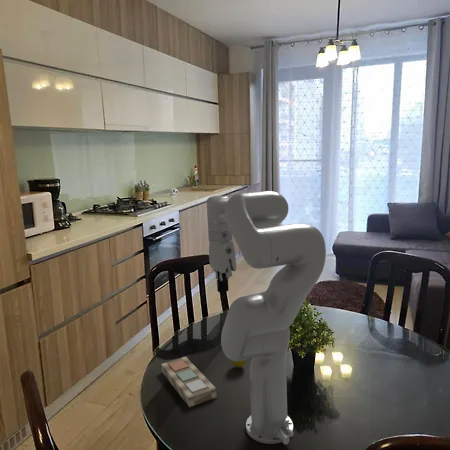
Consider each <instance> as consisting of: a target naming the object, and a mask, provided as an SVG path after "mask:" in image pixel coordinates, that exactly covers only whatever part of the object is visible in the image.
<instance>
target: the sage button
mask: <svg viewBox="0 0 450 450" xmlns="http://www.w3.org/2000/svg"><path fill="white" fill-rule="evenodd" d="M177 376H178V378H179V379H180V380H181V381H182V382H185V381H188V380H191V379H194V378H197V375H196V374H195V373H194V372H193V371H192V370H191V369H190V370H187V371H184V372H180V373H177Z"/></svg>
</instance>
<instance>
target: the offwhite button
mask: <svg viewBox="0 0 450 450" xmlns="http://www.w3.org/2000/svg"><path fill="white" fill-rule="evenodd" d="M186 387H187V388H188V390H189V391H190V392H191V393H194V392H197V391H200V390H203V389H206V388H207V386H206V385H205V384H204V383H203V382H202V380H201V379H199V380H196V381H193V382H190V383H187V384H186Z"/></svg>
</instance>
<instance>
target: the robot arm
mask: <svg viewBox="0 0 450 450" xmlns="http://www.w3.org/2000/svg"><path fill="white" fill-rule="evenodd" d="M288 213H289V203H288V201H287V200H286V198H285V197H284V196H283V194H281V193H279V192H276V191H272V190H265V191H264V190H263V191H262V190H261V191H251V192H243V193H242V192H241V193H236V194H233V195H232V196H231V197H229V196H227V195H214V196H212V195H211V196H209V197H208V198H207V199H206V217H207V235H208V236H207V237H208V242H209V243H208V244H209V245H208V261H209V267H210V268H212V271H214V273H215V279H216V286H217V288H216V290H217V292H218V293H220V294H223V293H226V292H227V293H228V292H229V291H230V290H229V279H230V278H231V277H233V273H232V272H236V270H237V259H236V250H235V245H234V244H235V243H236V244H237V247H238V249H239V251H240V253H241V256H242V258H243V259H244V261H245V262H246V264H247V265H248V266H250V267H251V268H253V269H268V268H274V267H280V266H282V268H280V270H278V271H277V272H276V273H275V274H274V276H273V277H272V279H271V280H270V282H269V285H268V288H267V289H266V290H264V291H263V292H262V291H261V292H259V293H254V294H248V295H243V296H240V297H238V298H236V299H235V300H234V301H232V303H231V304H230V306H229V307H228V312H227V315H226V318H225V321H224V324H223V327H222V330H221V337H220V345H221V348H222V352H223V354H224V356H225V357H226V358H227V359H228V360H230V361H231V360H232V361H243V360H250V359H251V360H250V364H249V389H250V390H249V391H250V393H249V395H250V415H249V417H247V419H246V422H245V431H246V433H247V434H248V436H249V437H250V438H251V439H253V440H254V441H256V442H258V443H261V444H267V445H276V444H279V443H283V445H288V444H289V443H290V440H291V438H292V437H293V436H294V435H295V432H294V423H293V420H292V418H290V416H289V415H288V395H287V394H288V393H287V391H288V390H287V389H288V388H287V386H288V385H287V384H288V383H287V382H288V381H287V361H288V358H287V357H288V352H289V351H288V350H289V345H290V338H291V337H290V336H291V331H290V327H291V325H292V324H293V323H294V321H295V319H297V318H296V317H297V316H298V314H299V312H300V310H301V308H302V306H303V305H304V302H305V300H306V298H307V297H308V295H309V294H310V292H311V291H312V289H313V288H314V286H315V285H316V284H317V282H318V280H319V279H320V277H321V275H322V273H323V270H324V267H325V264H326V258H327V249H326V248H327V247H326V242H325V238H324V236H323V233H322V232H321V231H320V230H319V229H318V228H317V227H315V226H313V225H311V224H306V223H292V224H283V225H279V224H281V223H283V222H284V220H286V218H287V216H288ZM233 238H234V241H233ZM234 242H235V243H234Z"/></svg>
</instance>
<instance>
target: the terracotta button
mask: <svg viewBox="0 0 450 450" xmlns="http://www.w3.org/2000/svg"><path fill="white" fill-rule="evenodd" d="M169 367H170V368H171V369H172V370H173V372H176V371H179V370H182V369H186V368H189V366H188V365H187V364H186V363H185V362H184V361H183V360H181V361H178V362H175V363H171V364H169Z"/></svg>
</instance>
